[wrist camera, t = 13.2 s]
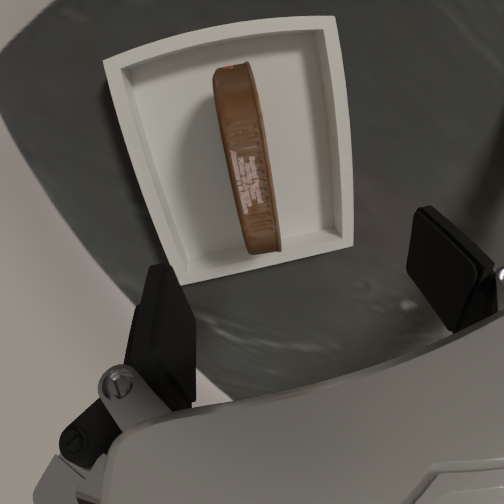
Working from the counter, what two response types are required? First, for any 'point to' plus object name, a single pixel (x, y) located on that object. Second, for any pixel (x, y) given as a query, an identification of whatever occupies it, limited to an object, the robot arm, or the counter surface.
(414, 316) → the counter surface
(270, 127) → the white tray
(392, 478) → the robot arm
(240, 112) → the tin
